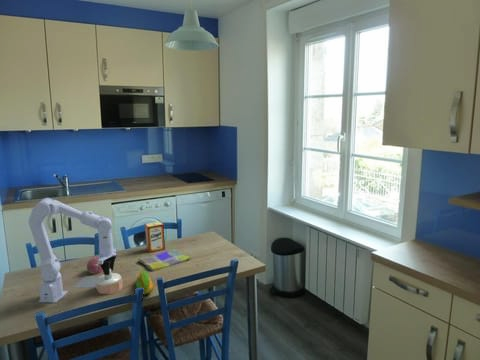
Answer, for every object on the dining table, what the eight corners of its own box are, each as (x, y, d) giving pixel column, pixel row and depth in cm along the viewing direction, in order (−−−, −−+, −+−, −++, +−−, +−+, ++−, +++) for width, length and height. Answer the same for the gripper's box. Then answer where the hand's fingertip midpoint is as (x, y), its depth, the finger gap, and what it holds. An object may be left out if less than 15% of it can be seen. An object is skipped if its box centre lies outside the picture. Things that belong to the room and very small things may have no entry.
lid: (112, 286, 159) (112, 275, 158) (90, 284, 161) (89, 273, 160) (125, 275, 170) (124, 265, 169) (103, 273, 172) (102, 263, 171)
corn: (137, 283, 155) (133, 265, 173) (137, 299, 156) (132, 280, 174) (155, 281, 158) (148, 264, 176) (154, 297, 159) (148, 278, 177)
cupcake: (82, 274, 182) (91, 273, 174) (84, 257, 185) (93, 256, 176) (99, 274, 188) (109, 273, 180) (101, 257, 190) (110, 256, 182)
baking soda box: (149, 252, 210) (147, 226, 207) (146, 249, 216) (144, 223, 213) (165, 249, 214) (163, 223, 211) (162, 246, 220) (160, 221, 217)
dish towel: (191, 261, 198) (191, 256, 197) (149, 273, 184) (149, 268, 183) (176, 251, 212) (176, 247, 211) (136, 262, 197) (136, 257, 197)
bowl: (116, 294, 161) (115, 285, 160) (93, 294, 162) (92, 285, 161) (125, 283, 171) (124, 275, 170) (104, 283, 172) (103, 274, 171)
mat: (97, 288, 167) (97, 287, 167) (72, 288, 168) (72, 287, 168) (108, 277, 179) (108, 276, 178) (85, 276, 179) (85, 276, 179)
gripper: (107, 250, 155) (110, 280, 157) (121, 239, 169) (123, 266, 172) (92, 250, 156) (94, 279, 158) (106, 239, 170) (109, 266, 172)
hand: (108, 272), depth 165 cm, fingers closed on lid, 3 cm apart
